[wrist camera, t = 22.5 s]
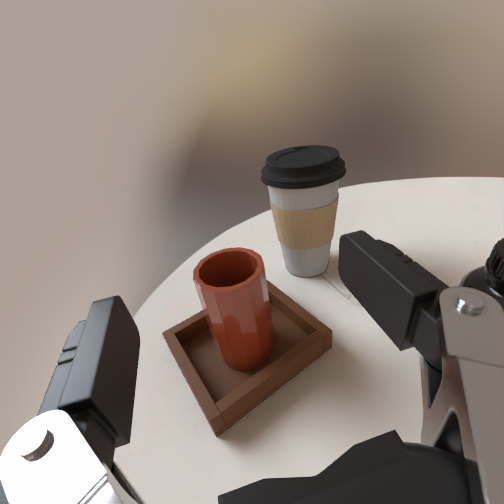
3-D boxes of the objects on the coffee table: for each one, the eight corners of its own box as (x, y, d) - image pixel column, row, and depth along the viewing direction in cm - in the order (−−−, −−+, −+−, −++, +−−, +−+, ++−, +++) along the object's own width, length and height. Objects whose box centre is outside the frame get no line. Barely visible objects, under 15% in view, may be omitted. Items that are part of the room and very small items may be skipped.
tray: (216, 437, 22) (209, 421, 21) (169, 348, 30) (161, 332, 29) (331, 347, 27) (332, 330, 26) (265, 291, 35) (262, 276, 34)
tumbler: (238, 383, 25) (213, 303, 20) (208, 342, 29) (181, 266, 24) (287, 348, 28) (278, 267, 22) (253, 314, 32) (238, 240, 26)
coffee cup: (319, 239, 44) (318, 139, 35) (356, 273, 36) (366, 154, 28) (263, 257, 42) (248, 155, 34) (288, 296, 34) (277, 177, 26)
